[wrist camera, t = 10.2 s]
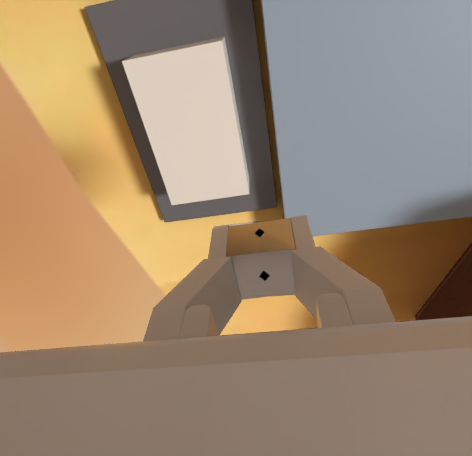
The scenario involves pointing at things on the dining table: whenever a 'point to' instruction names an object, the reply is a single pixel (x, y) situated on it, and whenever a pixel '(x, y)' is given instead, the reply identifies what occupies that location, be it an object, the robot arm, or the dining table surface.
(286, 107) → the panel
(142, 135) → the mat
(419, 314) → the letter holder
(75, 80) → the dining table surface
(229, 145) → the tile
